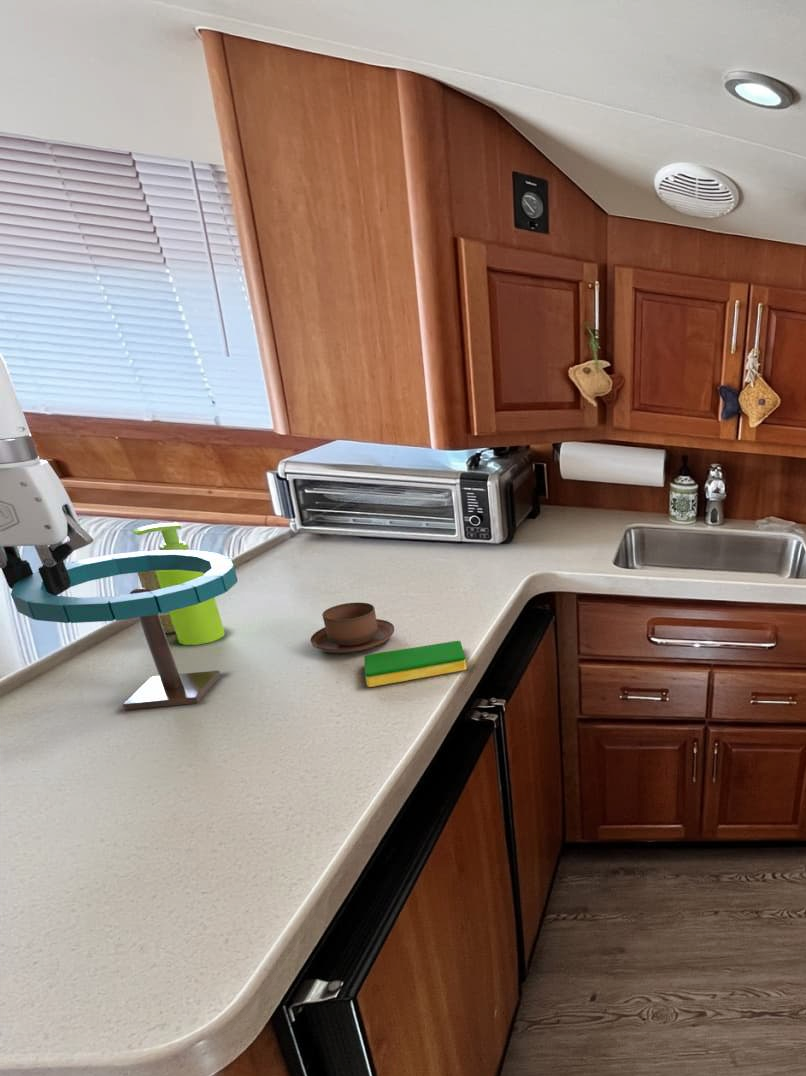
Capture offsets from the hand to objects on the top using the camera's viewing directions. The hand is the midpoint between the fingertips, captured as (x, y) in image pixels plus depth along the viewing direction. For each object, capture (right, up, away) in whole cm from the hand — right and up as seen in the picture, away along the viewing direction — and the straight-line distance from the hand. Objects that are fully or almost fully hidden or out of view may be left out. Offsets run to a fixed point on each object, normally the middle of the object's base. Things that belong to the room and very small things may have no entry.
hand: (43, 591), depth 83 cm
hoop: (+8, 0, +4) cm, 9 cm away
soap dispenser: (-3, -8, +25) cm, 26 cm away
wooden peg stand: (+7, -15, +10) cm, 19 cm away
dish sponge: (+36, -13, +21) cm, 44 cm away
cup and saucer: (+22, -9, +27) cm, 36 cm away
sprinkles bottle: (-10, -6, +27) cm, 29 cm away
